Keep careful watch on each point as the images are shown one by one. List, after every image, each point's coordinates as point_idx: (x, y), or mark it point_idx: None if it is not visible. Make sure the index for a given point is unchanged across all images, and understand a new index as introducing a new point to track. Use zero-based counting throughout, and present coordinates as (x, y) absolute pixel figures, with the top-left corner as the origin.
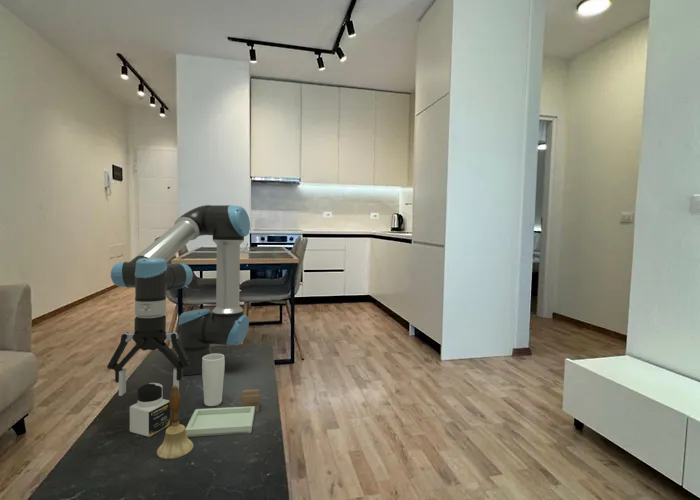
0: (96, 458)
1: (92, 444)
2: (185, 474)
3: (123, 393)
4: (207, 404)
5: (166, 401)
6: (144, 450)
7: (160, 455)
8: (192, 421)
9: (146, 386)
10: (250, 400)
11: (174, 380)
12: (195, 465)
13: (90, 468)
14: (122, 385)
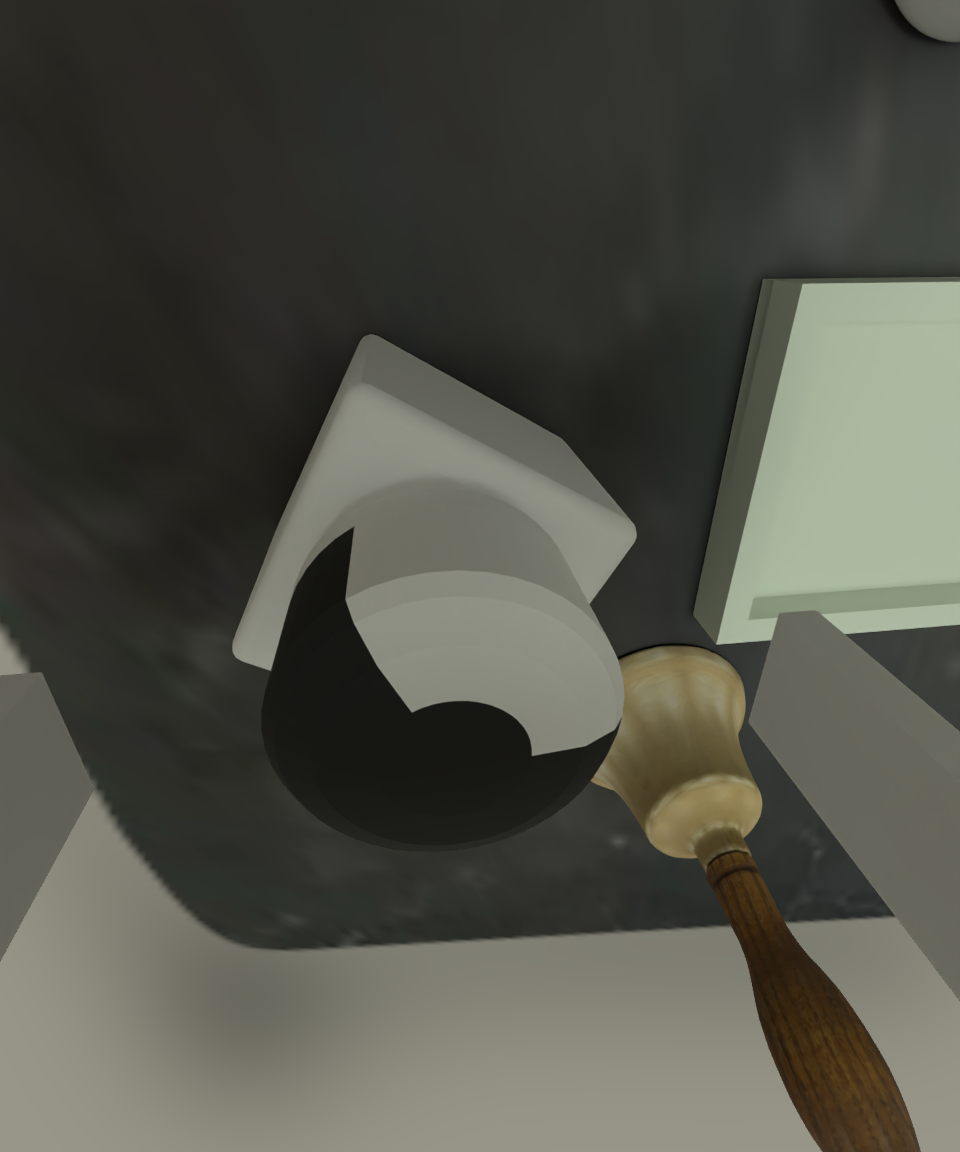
0: (257, 784)
1: (113, 670)
2: None
3: (68, 749)
4: (920, 25)
5: (608, 570)
6: None
7: (592, 781)
8: (766, 533)
9: (405, 791)
10: None
11: (888, 880)
12: None
13: (285, 843)
14: (7, 913)
